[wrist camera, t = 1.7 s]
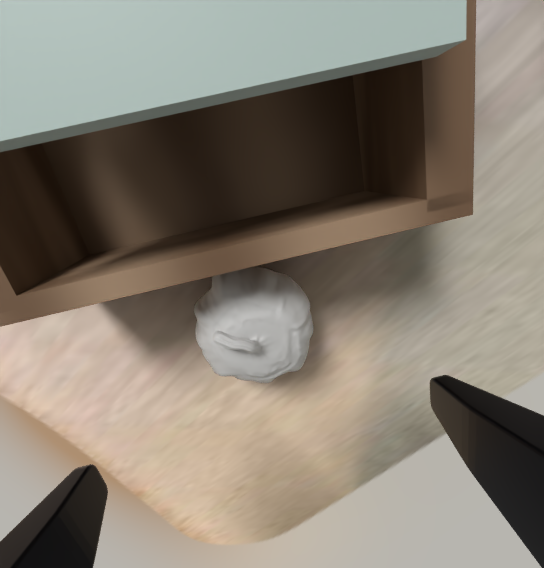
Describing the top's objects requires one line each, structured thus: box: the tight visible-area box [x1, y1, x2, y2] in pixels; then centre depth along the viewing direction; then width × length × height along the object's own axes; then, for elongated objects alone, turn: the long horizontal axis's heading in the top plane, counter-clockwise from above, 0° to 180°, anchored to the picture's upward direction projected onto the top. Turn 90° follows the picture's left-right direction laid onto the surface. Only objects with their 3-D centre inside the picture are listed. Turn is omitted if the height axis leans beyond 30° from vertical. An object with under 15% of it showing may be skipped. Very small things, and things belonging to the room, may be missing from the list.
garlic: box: [194, 267, 314, 383], centre depth 14 cm, size 6×5×5 cm
